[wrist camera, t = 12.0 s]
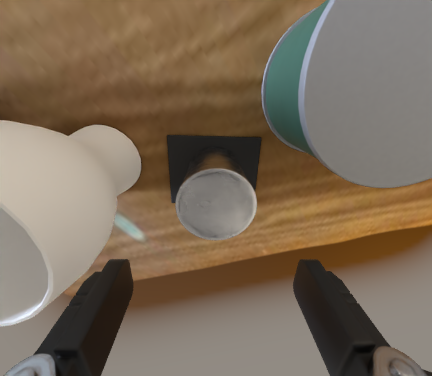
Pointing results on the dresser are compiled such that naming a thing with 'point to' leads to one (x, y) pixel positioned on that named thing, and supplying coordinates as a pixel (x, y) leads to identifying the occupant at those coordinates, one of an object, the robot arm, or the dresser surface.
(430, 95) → the green canister
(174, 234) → the dresser surface
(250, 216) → the metal can
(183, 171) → the mat
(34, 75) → the dresser surface
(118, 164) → the cup
